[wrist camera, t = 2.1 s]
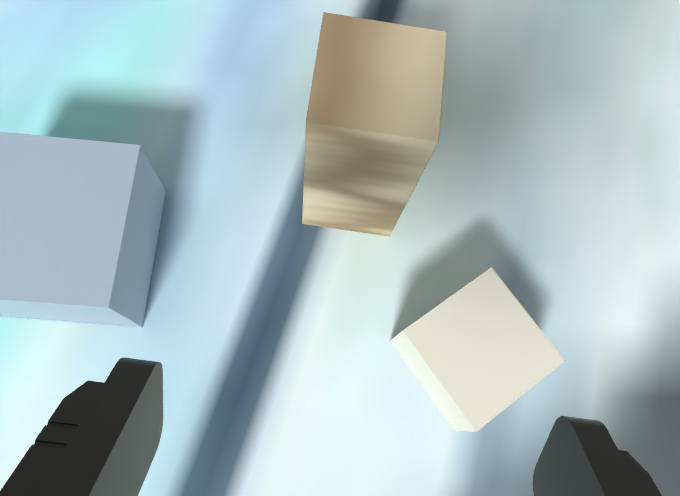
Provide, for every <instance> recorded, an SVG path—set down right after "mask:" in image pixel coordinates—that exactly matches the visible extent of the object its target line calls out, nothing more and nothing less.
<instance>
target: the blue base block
mask: <svg viewBox="0 0 680 496" xmlns="http://www.w3.org/2000/svg"><path fill="white" fill-rule="evenodd" d="M165 195H166V189H165V187H164V185H163V184H162V182H161V180H160V178H159V177H158V175H157V173H156V171H155V170H154V168H153V166H152V165H151V163H150V161H149V159H148V158H147V156H146V154H145V152H144V151H143V149H142V147H141V145H137V144H126V143H115V142H104V141H93V140H82V139H71V138H61V137H50V136H39V135H28V134H17V133H6V132H0V317H10V318H24V319H37V320H51V321H64V322H78V323H91V324H105V325H118V326H132V327H143V322H144V316H145V310H146V304H147V299H148V293H149V287H150V281H151V275H152V270H153V264H154V258H155V252H156V247H157V241H158V235H159V229H160V224H161V218H162V212H163V206H164V201H165Z"/></svg>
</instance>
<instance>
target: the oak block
mask: <svg viewBox="0 0 680 496" xmlns="http://www.w3.org/2000/svg"><path fill="white" fill-rule="evenodd" d="M446 36H447V32H446V31H439V30H433V29H427V28H420V27H414V26H407V25H401V24H395V23H388V22H382V21H376V20H369V19H363V18H356V17H350V16H344V15H337V14H331V13H325V12H323V19H322V25H321V31H320V37H319V43H318V50H317V56H316V62H315V68H314V75H313V81H312V87H311V93H310V99H309V106H308V112H307V118H306V133H305V162H304V191H303V220H302V224H308V225H315V226H322V227H329V228H336V229H343V230H350V231H357V232H364V233H371V234H378V235H385V236H390V234H391V232H392V230H393V229H394V227H395V225H396V223H397V221H398V219H399V217H400V215H401V213H402V211H403V209H404V207H405V205H406V204H407V202H408V200H409V198H410V196H411V194H412V192H413V190H414V188H415V186H416V184H417V182H418V180H419V179H420V177H421V175H422V173H423V171H424V169H425V167H426V165H427V163H428V161H429V159H430V157H431V155H432V154H433V152H434V150H435V148H436V146H437V144H438V142H439V130H440V116H441V103H442V89H443V76H444V62H445V49H446Z"/></svg>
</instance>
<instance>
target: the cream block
mask: <svg viewBox="0 0 680 496" xmlns="http://www.w3.org/2000/svg"><path fill="white" fill-rule="evenodd" d="M390 341H391V343H392V344H393V346H394V347H395V348H396V350H397V351H398V353H399V354H400V355H401V357H402V358H403V360H404V361H405V362H406V364H407V365H408V367H409V368H410V369H411V371H412V372H413V374H414V375H415V376H416V378H417V379H418V381H419V382H420V383H421V385H422V386H423V388H424V389H425V391H426V392H427V393H428V395H429V396H430V398H431V399H432V400H433V402H434V403H435V405H436V406H437V407H438V409H439V410H440V412H441V413H442V414H443V416H444V417H445V419H446V420H447V421H448V423H449V424H450V426H451V427H452V428H453V430H459V431H471V432H477V431H478V430H479V429H481V428H482V427H483V426H484V425H486V424H487V423H488V422H489V421H491V420H492V419H493V418H494V417H496V416H497V415H498V414H499V413H501V412H502V411H503V410H504V409H506V408H507V407H508V406H509V405H511V404H512V403H513V402H514V401H516V400H517V399H518V398H519V397H521V396H522V395H523V394H524V393H526V392H527V391H528V390H529V389H531V388H532V387H533V386H534V385H536V384H537V383H538V382H539V381H541V380H542V379H543V378H544V377H545V376H547V375H548V374H549V373H550V372H552V371H553V370H554V369H555V368H557V367H558V366H559V365H560V364H562V363H563V362H564V361H565V360H564V359H563V358H562V356H561V355H560V354H559V353H558V351H557V350H556V349H555V347H554V346H553V345H552V344H551V342H550V341H549V340H548V339H547V337H546V336H545V335H544V333H543V332H542V331H541V330H540V328H539V327H538V326H537V324H536V323H535V322H534V321H533V319H532V318H531V317H530V316H529V314H528V313H527V312H526V310H525V309H524V308H523V307H522V305H521V304H520V303H519V302H518V300H517V299H516V298H515V296H514V295H513V294H512V293H511V291H510V290H509V289H508V287H507V286H506V285H505V284H504V282H503V281H502V280H501V279H500V277H499V276H498V275H497V273H496V272H495V271H494V270H493V268H492V267H491V268H489V269H488V270H487V271H485V272H484V273H482V274H481V275H480V276H478V277H477V278H475V279H474V280H473V281H471V282H470V283H468V284H467V285H466V286H464V287H463V288H461V289H460V290H459V291H457V292H456V293H454V294H453V295H452V296H450V297H449V298H447V299H446V300H445V301H443V302H442V303H440V304H439V305H438V306H436V307H435V308H433V309H432V310H431V311H429V312H428V313H426V314H425V315H424V316H422V317H421V318H419V319H418V320H417V321H415V322H414V323H412V324H411V325H410V326H408V327H407V328H405V329H404V330H403V331H401V332H400V333H399V334H398V335H396V336H395V337H394V338H393V339H392V340H390Z"/></svg>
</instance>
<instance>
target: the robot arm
mask: <svg viewBox="0 0 680 496" xmlns="http://www.w3.org/2000/svg"><path fill="white" fill-rule="evenodd" d="M162 426H163V370H162V364H161V363H160V362H154V361H146V360H138V359H131V358H121V359H120V360H119V361H118V362H117V363H116V365H115V367H114V368H113V370H112V372H111V373H110V375H109V376H108V378H107V380H106V381H105V383H102V382H94V381H87V382H85V383H84V384H83V385H81V386H80V387H79V388H77V389H76V390H75V391H73V392H72V393H70V394H69V395H68V396H66V397H65V398H64V399H63V400H62V402H61V403H60V405H59V406H58V408H57V409H56V410H55V412H54V413H53V415H52V416H51V418H50V419H49V421H48V425H47V426H45V427H44V428H43V429H42V431H41V432H40V434H39V435H38V437H37V438H36V440H35V444H34V445H32V446H31V447H30V448H29V450H28V451H27V453H26V454H25V456H24V457H23V459H22V460H21V462H20V463H19V464H18V466H17V467H16V469H15V470H14V472H13V473H12V475H11V476H10V478H9V479H8V481H7V482H6V483H5V485H4V486H3V488H2V489H1V491H0V496H138V494H139V491H140V489H141V487H142V484H143V482H144V479H145V477H146V475H147V472H148V470H149V467H150V465H151V463H152V460H153V458H154V455H155V453H156V450H157V448H158V444H159V441H160V437H161V432H162ZM533 492H534V496H662V495H661V494H660V492H659V490H658V489H657V487H656V485H655V483H654V482H653V480H652V478H651V476H650V475H649V473H648V472H647V471H646V470H645V469H644V468H643V467H642V466H641V465H640V464H639V463H638V462H637V461H636V460H635V459H634V458H633V457H632V456H631V455H630V454H629V453H628V452H627V451H622V450H618V449H617V447H616V445H615V443H614V441H613V440H612V438H611V436H610V434H609V432H608V430H607V428H606V427H605V425H604V424H603V423H602V422H600V421H597V420H589V419H582V418H574V417H566V416H561V417H559V418H558V419H557V420H556V422H555V423H554V426H553V428H552V430H551V432H550V435H549V437H548V439H547V442H546V444H545V446H544V448H543V451H542V453H541V455H540V457H539V460H538V462H537V464H536V467H535V470H534V475H533Z"/></svg>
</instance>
